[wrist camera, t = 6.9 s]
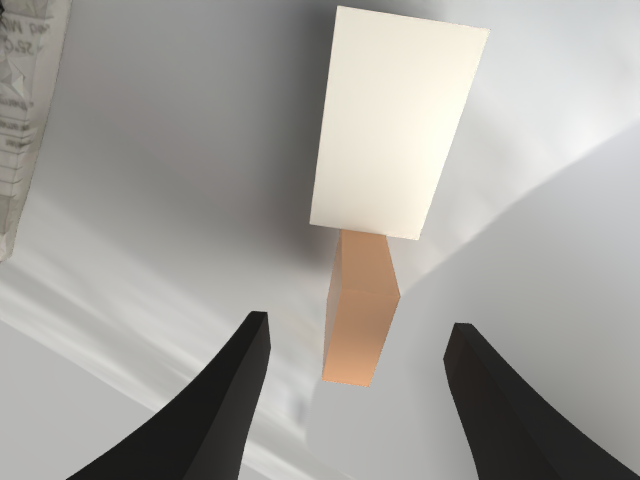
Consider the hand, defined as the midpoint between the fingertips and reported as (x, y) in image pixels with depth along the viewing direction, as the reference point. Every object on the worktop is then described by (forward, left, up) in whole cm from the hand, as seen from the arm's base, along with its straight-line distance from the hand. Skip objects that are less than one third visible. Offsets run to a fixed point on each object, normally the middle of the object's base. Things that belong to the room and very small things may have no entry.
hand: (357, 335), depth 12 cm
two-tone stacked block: (0, -4, -5) cm, 6 cm away
